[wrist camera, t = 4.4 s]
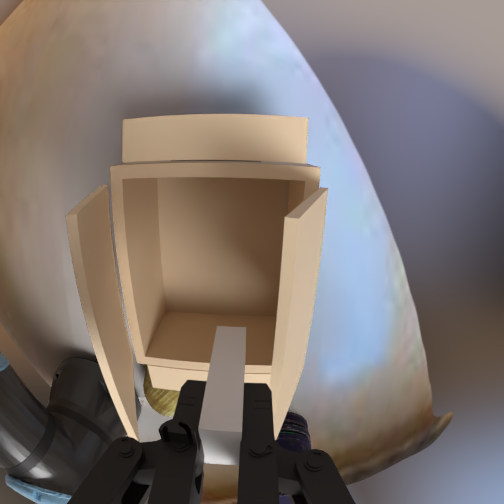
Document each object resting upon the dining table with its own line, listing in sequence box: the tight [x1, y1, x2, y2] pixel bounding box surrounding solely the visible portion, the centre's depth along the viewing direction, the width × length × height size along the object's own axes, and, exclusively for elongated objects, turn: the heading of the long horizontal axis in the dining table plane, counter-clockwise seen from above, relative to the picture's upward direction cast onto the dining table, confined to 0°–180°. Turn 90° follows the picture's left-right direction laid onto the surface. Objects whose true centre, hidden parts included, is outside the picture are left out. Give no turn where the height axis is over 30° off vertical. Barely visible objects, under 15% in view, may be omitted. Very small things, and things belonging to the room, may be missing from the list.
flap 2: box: [270, 187, 328, 440], centre depth 17 cm, size 10×15×1 cm
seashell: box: [143, 364, 180, 417], centre depth 35 cm, size 10×7×8 cm
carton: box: [110, 114, 320, 391], centre depth 26 cm, size 15×25×9 cm, turn 178°
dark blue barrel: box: [276, 412, 311, 504], centre depth 34 cm, size 10×10×15 cm
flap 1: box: [66, 185, 139, 441], centre depth 17 cm, size 10×15×1 cm
